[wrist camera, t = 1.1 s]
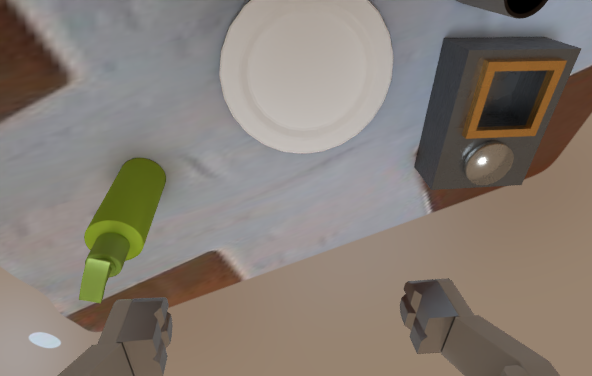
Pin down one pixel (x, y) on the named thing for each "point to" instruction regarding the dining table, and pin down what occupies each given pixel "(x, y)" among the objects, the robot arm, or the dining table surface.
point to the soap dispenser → (121, 224)
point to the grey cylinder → (508, 6)
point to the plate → (306, 71)
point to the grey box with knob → (490, 109)
